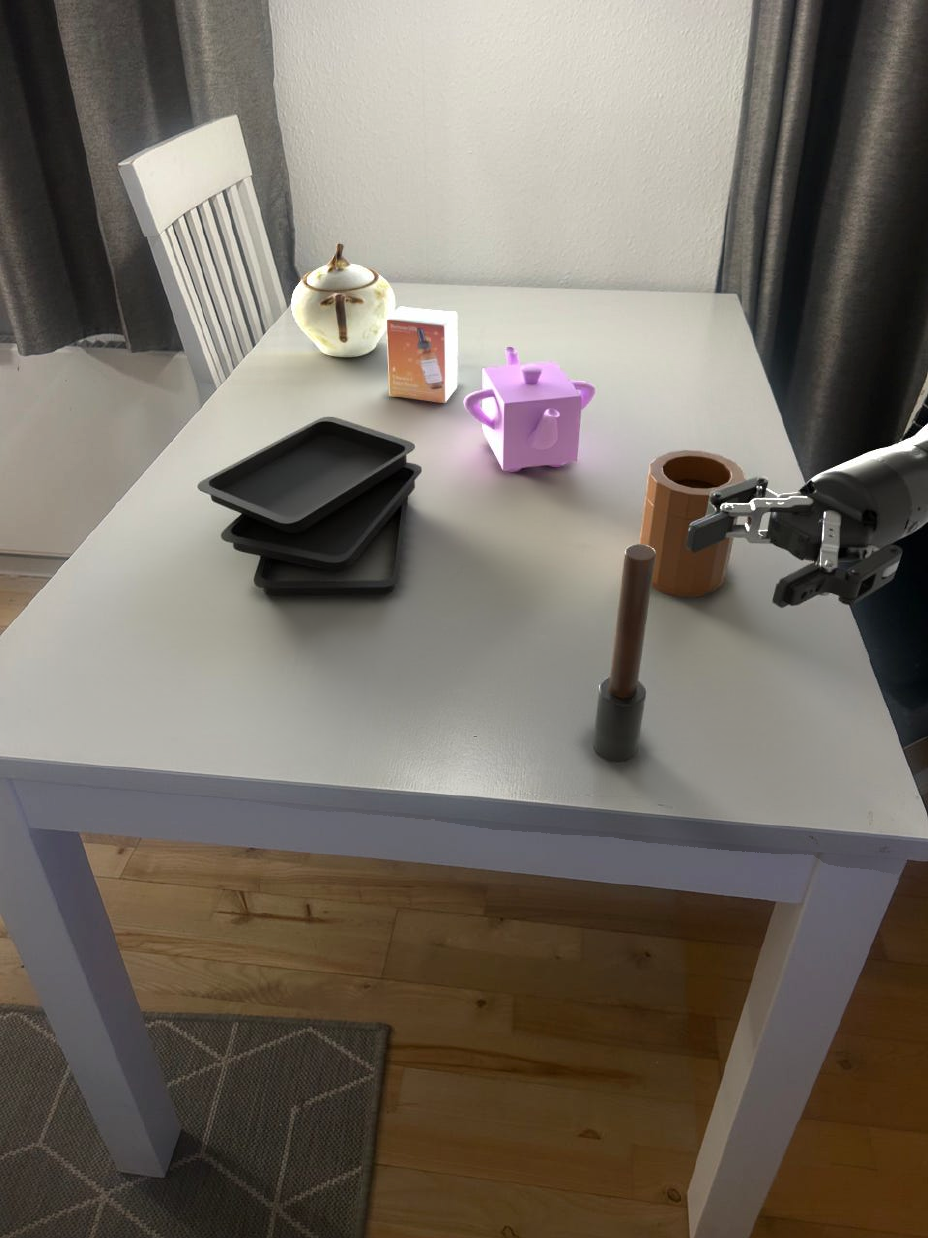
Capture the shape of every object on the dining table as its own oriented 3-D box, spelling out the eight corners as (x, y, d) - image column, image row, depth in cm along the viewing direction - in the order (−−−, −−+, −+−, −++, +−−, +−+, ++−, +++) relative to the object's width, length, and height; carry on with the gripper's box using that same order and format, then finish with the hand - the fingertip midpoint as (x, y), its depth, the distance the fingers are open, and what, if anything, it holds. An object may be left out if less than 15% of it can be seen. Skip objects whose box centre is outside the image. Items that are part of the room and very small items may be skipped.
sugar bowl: (399, 371, 129) (393, 261, 120) (292, 375, 128) (278, 265, 119) (395, 322, 144) (390, 221, 135) (300, 325, 143) (288, 224, 134)
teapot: (442, 459, 108) (440, 370, 101) (506, 419, 116) (509, 335, 110) (551, 498, 100) (557, 405, 94) (612, 452, 109) (621, 364, 102)
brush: (627, 728, 72) (654, 534, 61) (644, 759, 69) (676, 562, 58) (586, 736, 71) (606, 541, 60) (602, 767, 69) (626, 570, 58)
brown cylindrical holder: (700, 543, 93) (717, 445, 86) (740, 590, 86) (762, 487, 80) (623, 555, 91) (635, 456, 85) (657, 603, 85) (673, 500, 78)
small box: (388, 397, 122) (384, 319, 115) (403, 381, 126) (399, 304, 119) (446, 404, 120) (444, 325, 113) (458, 387, 124) (457, 310, 118)
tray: (449, 595, 86) (448, 548, 83) (197, 622, 83) (186, 575, 80) (410, 450, 110) (408, 410, 106) (212, 467, 107) (204, 426, 103)
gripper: (810, 426, 76) (669, 482, 69) (968, 497, 67) (824, 570, 60) (791, 504, 81) (657, 563, 74) (936, 580, 72) (799, 657, 64)
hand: (732, 566), depth 67 cm, fingers open, 8 cm apart
